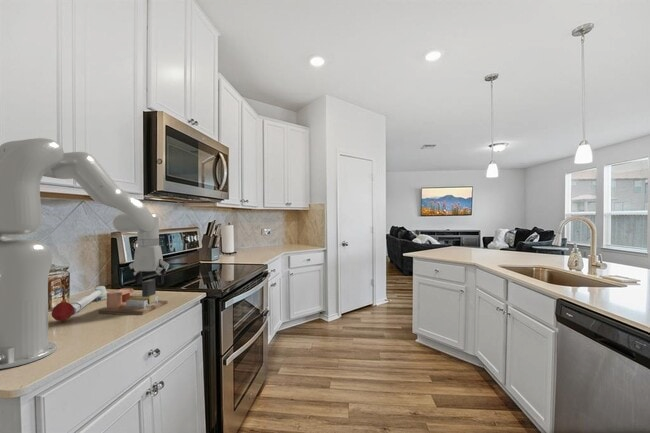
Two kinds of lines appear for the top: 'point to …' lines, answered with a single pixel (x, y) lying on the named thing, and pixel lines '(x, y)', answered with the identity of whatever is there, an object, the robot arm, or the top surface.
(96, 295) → the white rod
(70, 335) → the top surface
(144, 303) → the guide sleeve
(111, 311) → the base board
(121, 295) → the socket block
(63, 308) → the onion
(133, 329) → the top surface
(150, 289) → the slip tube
